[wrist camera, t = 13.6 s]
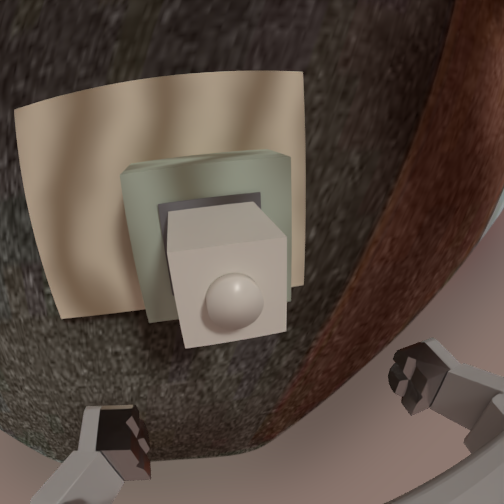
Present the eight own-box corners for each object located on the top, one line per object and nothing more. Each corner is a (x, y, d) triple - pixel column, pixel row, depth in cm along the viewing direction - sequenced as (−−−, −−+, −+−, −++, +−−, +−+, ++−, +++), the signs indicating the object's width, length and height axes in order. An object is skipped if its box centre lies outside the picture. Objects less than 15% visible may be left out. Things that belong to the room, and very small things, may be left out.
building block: (253, 201, 19) (293, 243, 13) (256, 276, 21) (291, 340, 15) (168, 211, 18) (166, 261, 12) (179, 287, 20) (186, 359, 14)
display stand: (295, 74, 22) (334, 62, 16) (297, 277, 30) (328, 316, 24) (22, 109, 18) (-21, 110, 12) (65, 309, 26) (46, 356, 20)
